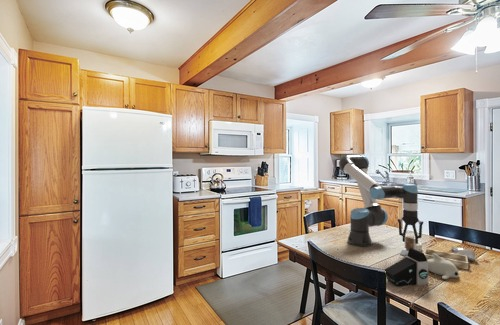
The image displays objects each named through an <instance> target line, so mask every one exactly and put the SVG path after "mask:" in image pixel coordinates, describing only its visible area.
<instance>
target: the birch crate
mask: <svg viewBox="0 0 500 325" xmlns="http://www.w3.org/2000/svg"><path fill="white" fill-rule="evenodd" d="M423 253H424V255H425V256H426V259H427V260H428V259H433V258H434V255H433V253H435V254H437V255H438V256H440V257H441V258H444V259H446V260H448V261H451V262H452V263H453V264H454V265H455V267H456V268H459V269H465V270H469V260H468V258H467V256H464V255H458V254H453V253H452V252H446V251H442V250H436V249H430V248H424V251H423Z"/></svg>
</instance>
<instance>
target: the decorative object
mask: <svg viewBox="0 0 500 325" xmlns="http://www.w3.org/2000/svg"><path fill="white" fill-rule="evenodd" d="M408 251H409V252H408V256H404V257H405V258H403V259H401V260H399V261H397V262H396V263H394V264H392V265H390V266H389V267H387V268H386V267H385V269H384V270H385V271H386V274H385V276H386V278H387V281H388V282H390V283H391V284H392V285H394V286H395V287H397V288H398V287H407V286H413V285H414V286H421V285H422V286H423V285H428V284H429V270H428V261H427V259H426V256H425V255H424V252H422V251H421V252H420V251H417V250H415V249H413V248H410V249H408ZM385 271H384V272H385Z"/></svg>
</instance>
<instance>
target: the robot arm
mask: <svg viewBox="0 0 500 325" xmlns="http://www.w3.org/2000/svg"><path fill="white" fill-rule="evenodd" d="M369 161H370V160H369V158H367V156H365V155H363V154H346V155H343V156H342V157H341V158H339V162H338V167H339V168H340V170H341V172H343V173H344V174H346V175H347V174H348V175H349V176H350V177H351V178H352V179H354V180H355V181H356V183H357V186H358V190H359V193H360V196H361V199H362V202H363V205H364V207H356V208H353V209H352V210H351V211H350V216H349V217H350V231H349V234H348V237H347V242H348V243H349V244H350V245H353V246H356V247H362V248H364V247H370V246H372V243H373V242H372V239H371V236H370V231H369V230H370V228H372V227H380V226H384V225H386V223H387V221H388V219H389V216H388V213H387V211H386V210H385V209H384V208H382V207H381V204H379V203H378V201H377V200H385V199H386V200H387V199H394V198H396V199H401V200H402V209H403V210H402V217H401V218H400V217H398V218H397V222H398V233H399V236H401V237H402V242H404V248H405V249H406V236H407V235H406V234H407V230H408V226H412V229H413V230H412V231H413V234H414V236H413V237H414V249H416V244H418V242H419V239H422V236H423V234H422V233H423V225H424V220H419V217H418V214H419V212H418V209H419V208H418V206H419V205H418V204H419V203H418V199H419V198H418V196H419V195H418V194H419V190H418V189H419V188H418V185H417V184H414V183H404V184H403V185H402V186H399V185H386V186H383V185H381V184H379V183H378V182H377V181H375V180H374V179H373V178H372V177H370V176H369V175H368V173H367V172H368V171H369V170H368V168H369V167H370V166H369V165H370V162H369ZM402 222H404V223H405V225H404V227H403V225H402ZM417 223H418V225H419V227H418V232H417V226H416V224H417ZM402 228H404V229H402Z"/></svg>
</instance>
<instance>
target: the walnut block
mask: <svg viewBox="0 0 500 325" xmlns="http://www.w3.org/2000/svg"><path fill="white" fill-rule="evenodd" d="M405 236H406V248H405V250H409V249H410V248H413V249H414V237H415V236H411V235H405Z"/></svg>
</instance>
